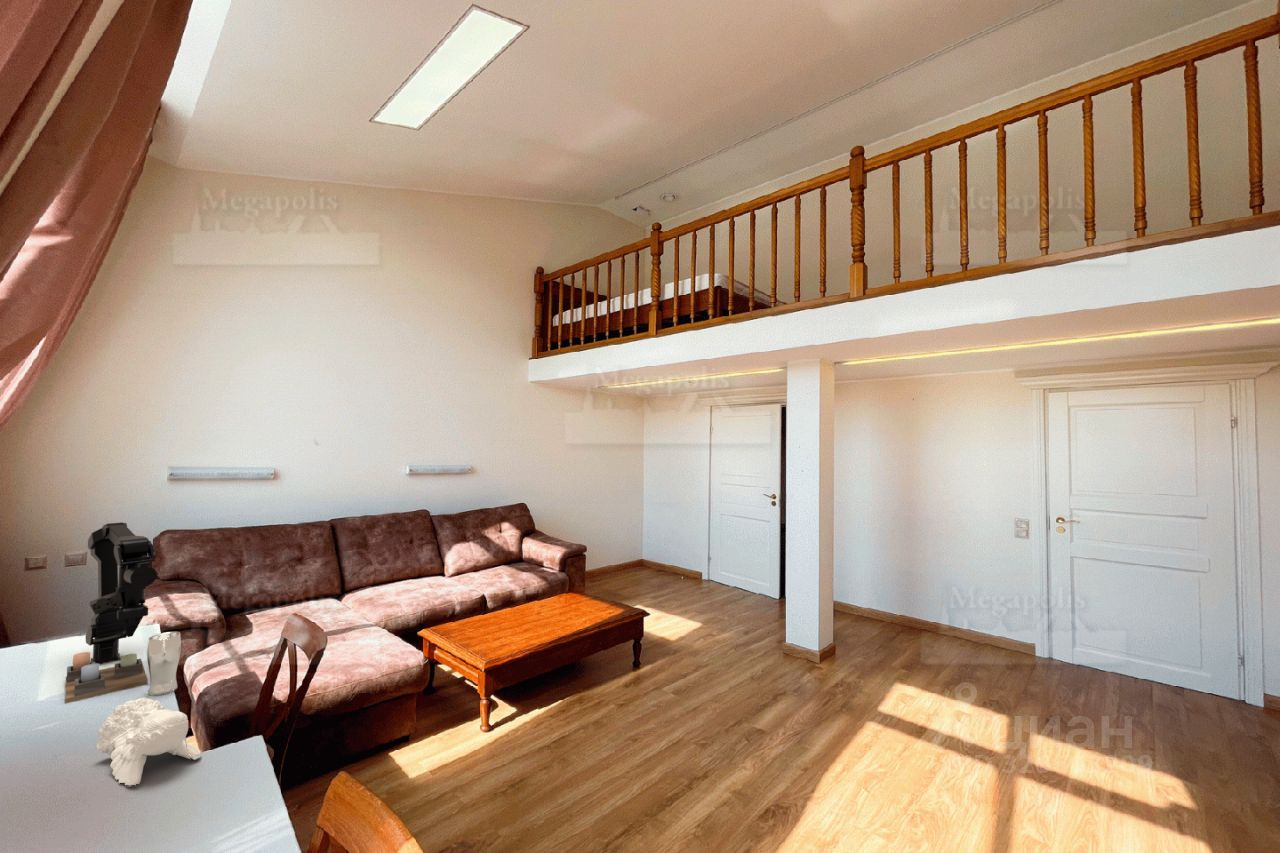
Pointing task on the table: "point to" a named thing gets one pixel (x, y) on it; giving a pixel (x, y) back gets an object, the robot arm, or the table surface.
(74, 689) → the button panel
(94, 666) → the slate button
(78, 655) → the terracotta button
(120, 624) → the robot arm
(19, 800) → the table surface
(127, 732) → the white curly sculpture
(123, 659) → the sage button
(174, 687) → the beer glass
